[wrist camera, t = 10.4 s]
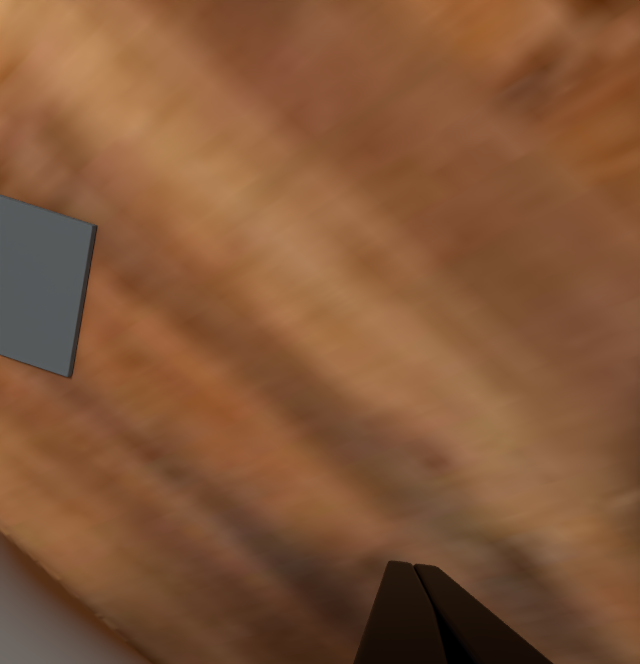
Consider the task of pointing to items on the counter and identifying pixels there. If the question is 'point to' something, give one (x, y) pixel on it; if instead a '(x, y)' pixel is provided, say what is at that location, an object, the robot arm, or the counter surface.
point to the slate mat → (42, 284)
